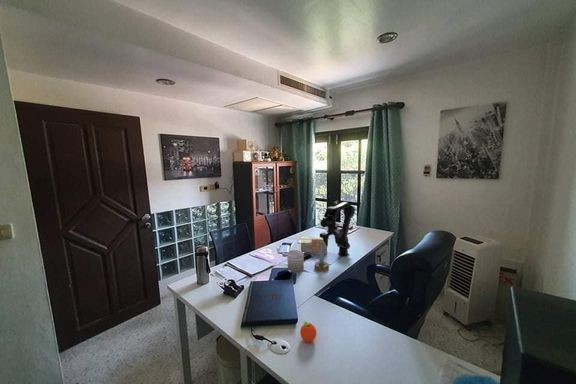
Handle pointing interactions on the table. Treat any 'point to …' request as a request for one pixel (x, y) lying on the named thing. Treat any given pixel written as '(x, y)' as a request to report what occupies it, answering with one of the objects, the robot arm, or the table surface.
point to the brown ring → (321, 268)
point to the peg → (321, 258)
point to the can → (295, 261)
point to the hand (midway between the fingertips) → (331, 244)
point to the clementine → (308, 332)
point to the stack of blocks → (314, 245)
